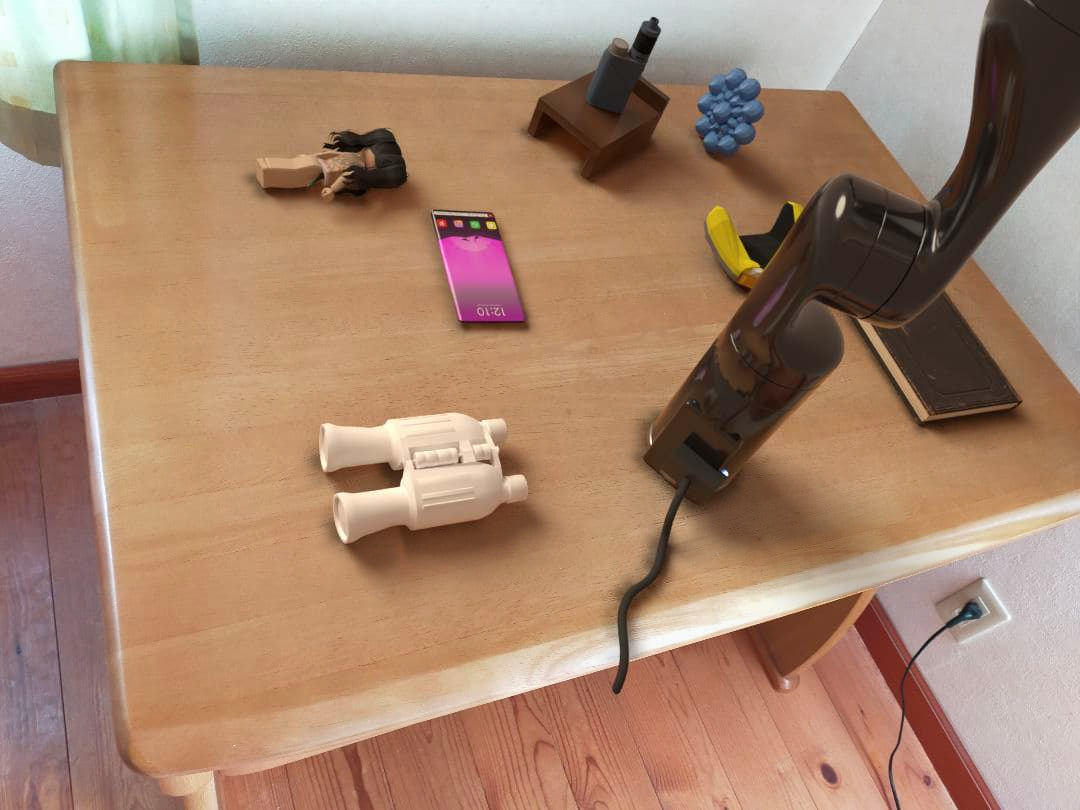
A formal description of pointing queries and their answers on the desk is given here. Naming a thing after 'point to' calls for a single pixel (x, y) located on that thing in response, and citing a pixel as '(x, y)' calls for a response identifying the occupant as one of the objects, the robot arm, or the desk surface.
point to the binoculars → (421, 472)
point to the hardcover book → (940, 366)
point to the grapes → (729, 112)
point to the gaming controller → (747, 243)
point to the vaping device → (622, 68)
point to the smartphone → (477, 267)
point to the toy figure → (341, 165)
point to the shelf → (601, 120)
